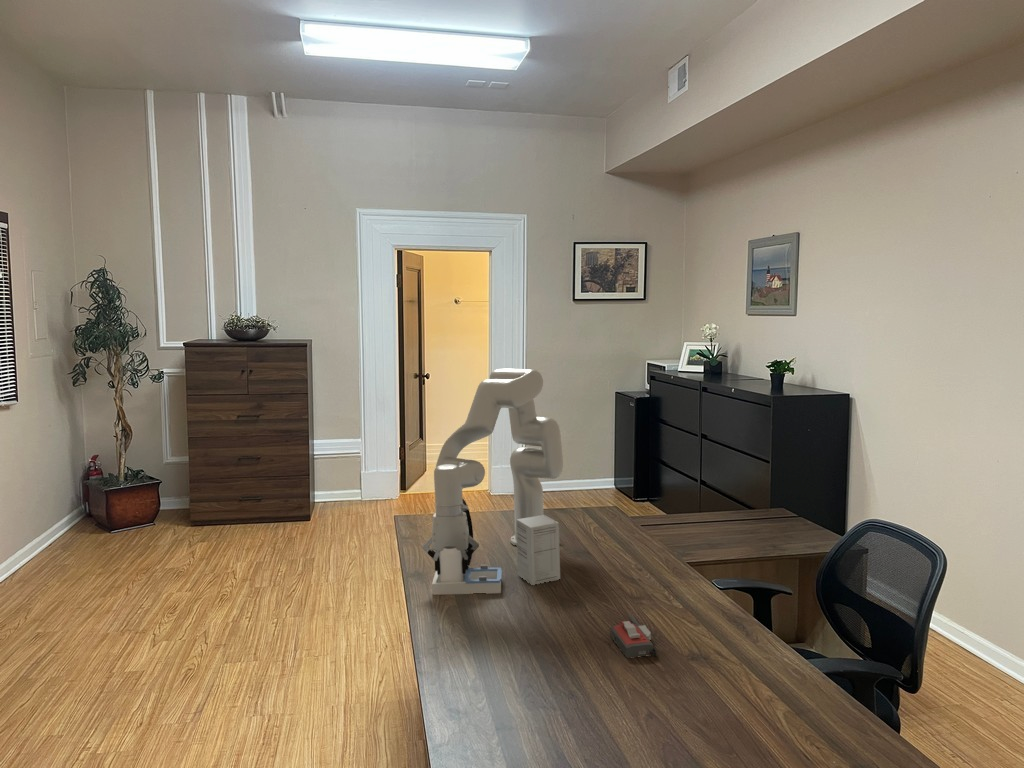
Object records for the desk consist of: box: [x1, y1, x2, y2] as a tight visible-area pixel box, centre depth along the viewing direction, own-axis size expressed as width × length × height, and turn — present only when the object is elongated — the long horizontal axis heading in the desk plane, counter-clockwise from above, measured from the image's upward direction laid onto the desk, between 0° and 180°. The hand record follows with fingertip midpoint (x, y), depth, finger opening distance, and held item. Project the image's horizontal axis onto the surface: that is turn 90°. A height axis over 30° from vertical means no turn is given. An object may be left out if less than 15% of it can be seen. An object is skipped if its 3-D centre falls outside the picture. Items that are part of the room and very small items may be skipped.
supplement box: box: [516, 514, 561, 586], centre depth 204 cm, size 10×9×17 cm
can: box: [439, 547, 464, 582], centre depth 198 cm, size 6×6×12 cm
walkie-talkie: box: [609, 614, 658, 659], centre depth 165 cm, size 9×4×20 cm
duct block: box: [431, 563, 503, 596], centre depth 198 cm, size 19×10×5 cm, turn 90°
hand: (451, 572), depth 198 cm, fingers closed on can, 6 cm apart
